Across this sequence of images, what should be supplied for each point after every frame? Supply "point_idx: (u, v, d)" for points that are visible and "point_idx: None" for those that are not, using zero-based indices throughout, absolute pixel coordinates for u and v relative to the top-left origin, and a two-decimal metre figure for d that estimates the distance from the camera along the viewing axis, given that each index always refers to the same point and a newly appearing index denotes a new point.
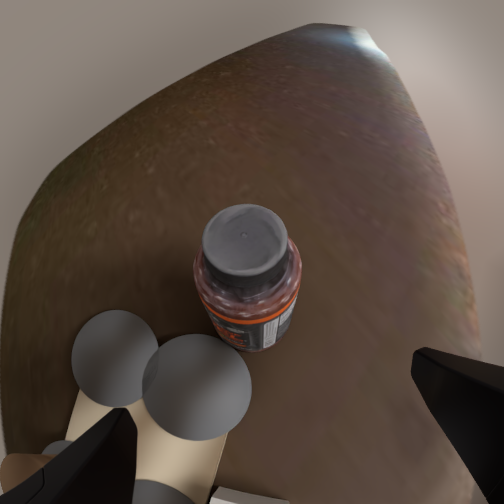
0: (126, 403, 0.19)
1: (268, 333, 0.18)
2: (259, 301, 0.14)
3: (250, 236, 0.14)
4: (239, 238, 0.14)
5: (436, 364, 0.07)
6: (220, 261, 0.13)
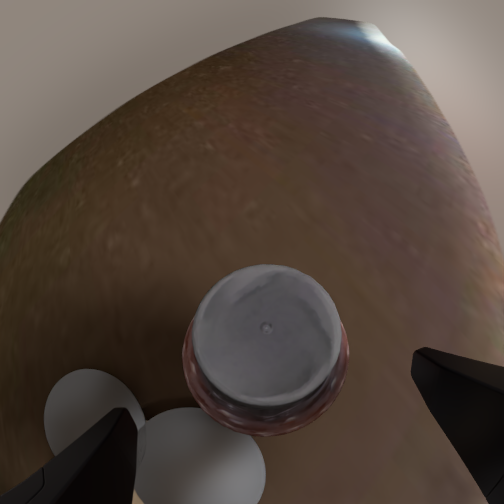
0: None
1: None
2: (288, 418, 0.08)
3: (278, 331, 0.08)
4: (259, 336, 0.07)
5: (436, 364, 0.07)
6: (227, 381, 0.07)
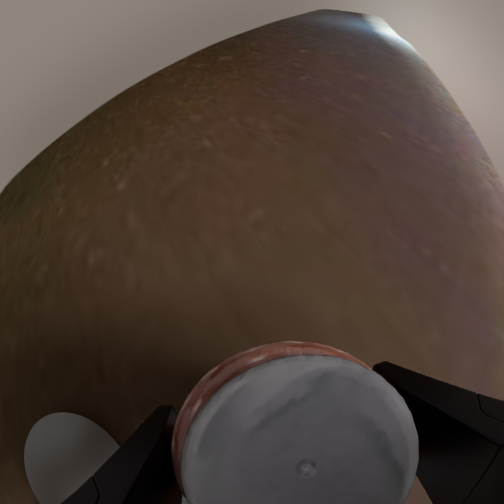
0: None
1: None
2: None
3: (326, 472, 0.04)
4: (294, 481, 0.04)
5: (392, 382, 0.07)
6: None
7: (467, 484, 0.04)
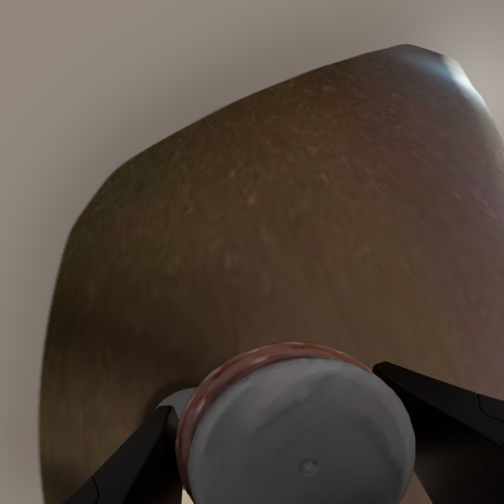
0: None
1: None
2: None
3: (328, 471, 0.04)
4: (297, 479, 0.04)
5: (392, 382, 0.07)
6: None
7: (467, 484, 0.04)
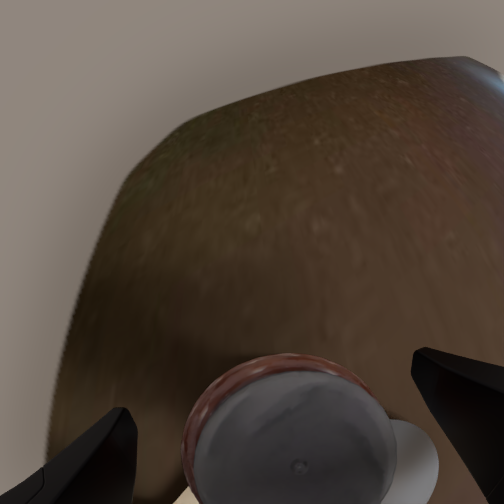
0: None
1: None
2: None
3: (316, 470, 0.04)
4: (289, 477, 0.04)
5: (436, 364, 0.07)
6: None
7: None
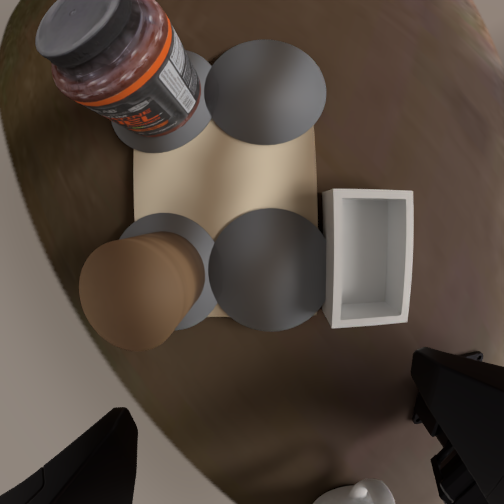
0: (196, 133, 0.18)
1: (175, 88, 0.13)
2: (132, 53, 0.09)
3: (79, 8, 0.07)
4: (70, 17, 0.07)
5: (436, 364, 0.07)
6: (62, 46, 0.07)
7: None
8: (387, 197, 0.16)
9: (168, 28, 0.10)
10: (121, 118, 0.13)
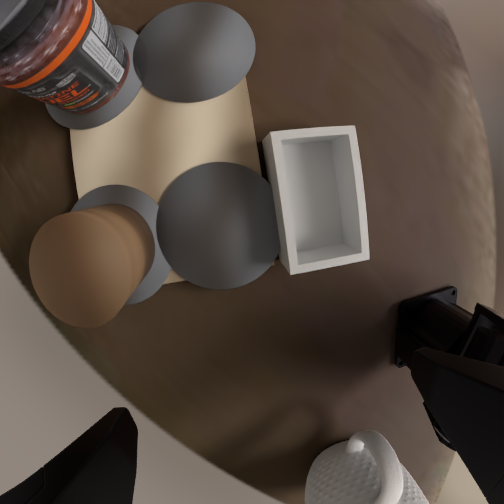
0: (128, 102, 0.16)
1: (100, 57, 0.11)
2: (53, 28, 0.07)
3: None
4: None
5: (436, 364, 0.07)
6: None
7: None
8: (328, 134, 0.16)
9: (88, 0, 0.08)
10: (51, 96, 0.11)
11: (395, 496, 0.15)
